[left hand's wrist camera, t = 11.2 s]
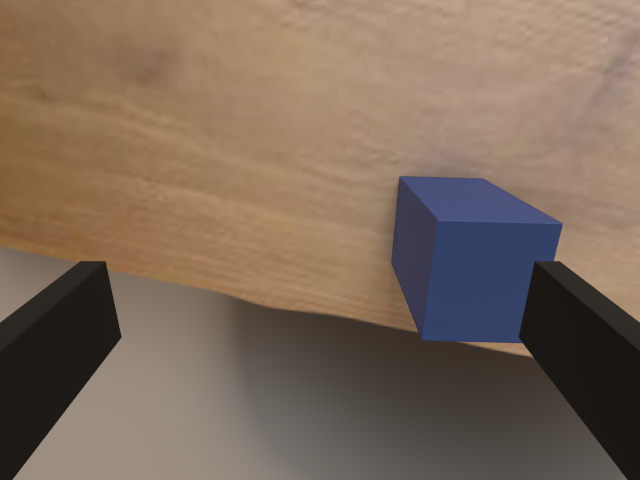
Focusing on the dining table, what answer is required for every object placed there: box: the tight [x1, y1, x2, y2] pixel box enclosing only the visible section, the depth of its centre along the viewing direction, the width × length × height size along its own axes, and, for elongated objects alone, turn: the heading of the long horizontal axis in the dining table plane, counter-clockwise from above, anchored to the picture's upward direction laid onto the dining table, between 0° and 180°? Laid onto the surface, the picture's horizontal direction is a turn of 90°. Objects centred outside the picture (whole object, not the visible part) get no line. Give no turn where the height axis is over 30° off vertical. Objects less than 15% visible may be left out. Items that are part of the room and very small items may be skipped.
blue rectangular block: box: [391, 176, 563, 343], centre depth 24 cm, size 6×6×10 cm
